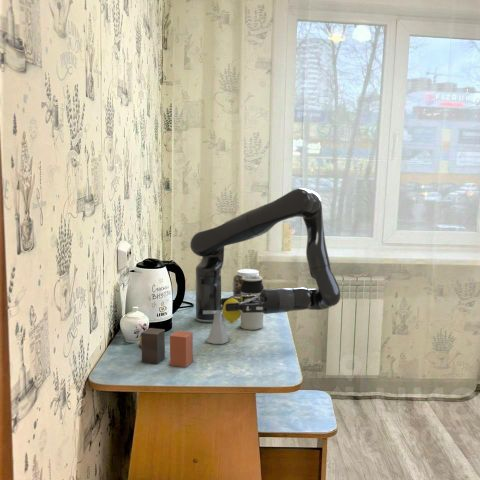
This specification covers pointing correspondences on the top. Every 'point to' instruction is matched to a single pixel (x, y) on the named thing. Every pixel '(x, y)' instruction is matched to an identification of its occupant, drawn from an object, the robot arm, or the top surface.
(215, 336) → the flask
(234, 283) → the jar
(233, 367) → the top surface
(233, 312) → the lemon
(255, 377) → the top surface
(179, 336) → the terracotta block
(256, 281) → the travel mug
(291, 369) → the top surface
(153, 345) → the walnut block
